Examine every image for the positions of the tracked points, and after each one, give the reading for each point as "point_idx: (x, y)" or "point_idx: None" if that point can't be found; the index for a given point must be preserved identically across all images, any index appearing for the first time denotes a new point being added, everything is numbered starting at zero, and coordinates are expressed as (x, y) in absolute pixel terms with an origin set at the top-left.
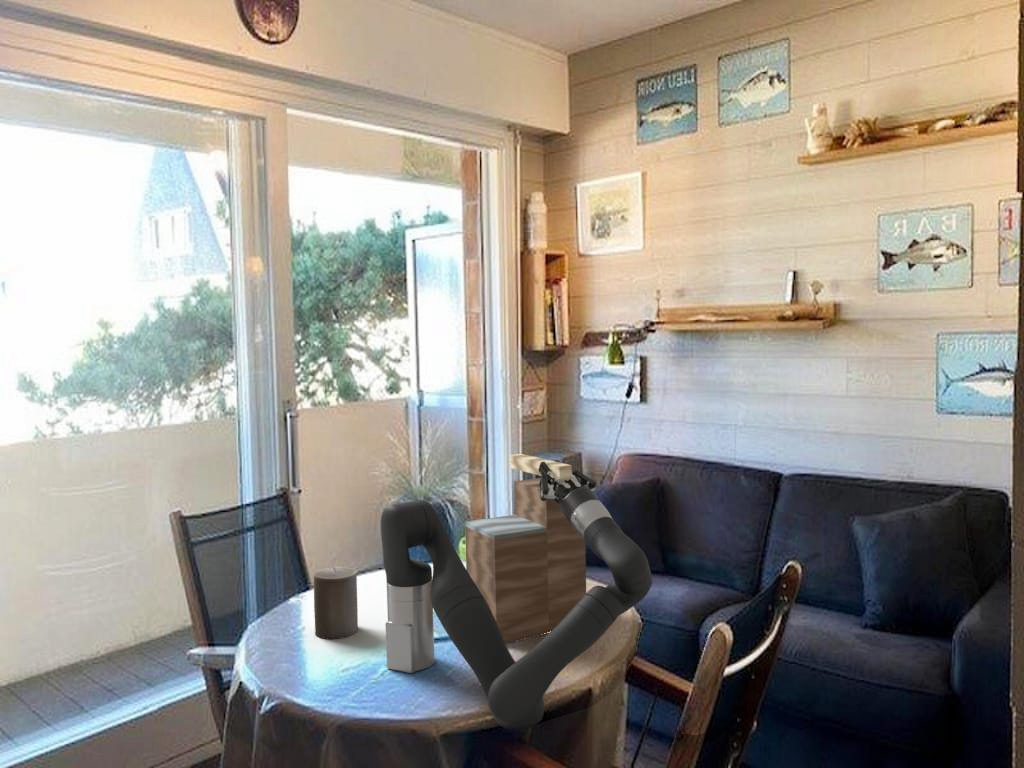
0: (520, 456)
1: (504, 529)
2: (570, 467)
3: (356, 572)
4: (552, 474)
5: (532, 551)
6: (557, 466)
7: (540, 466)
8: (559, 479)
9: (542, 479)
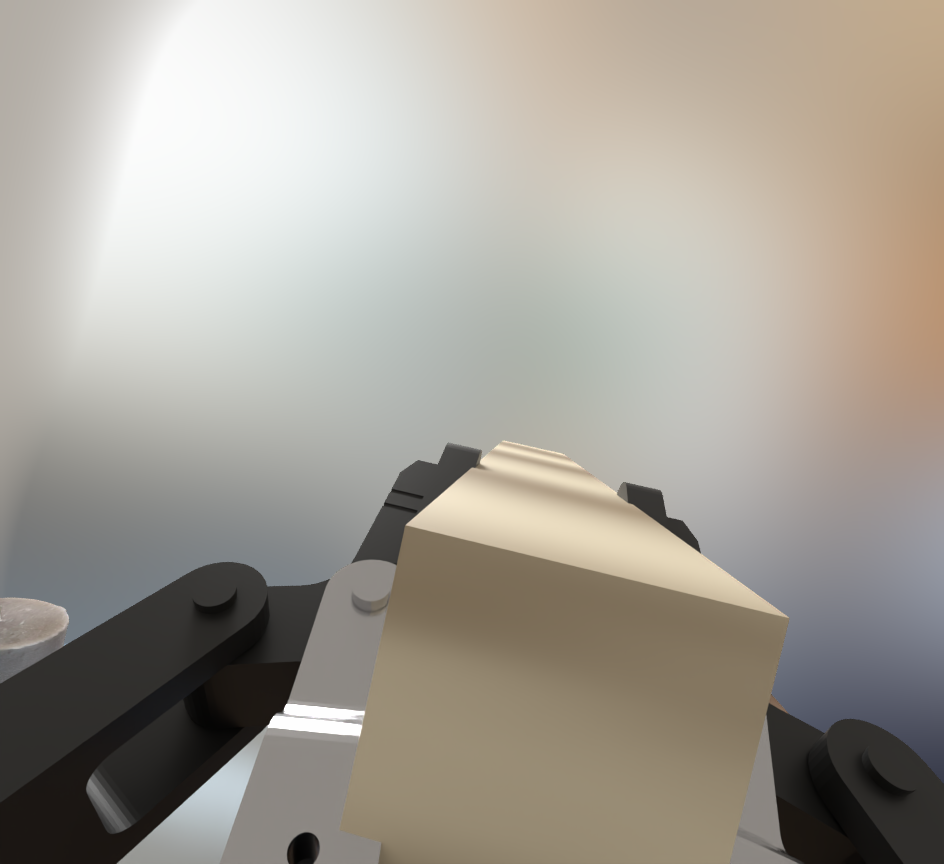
0: (517, 447)
1: (197, 829)
2: (737, 668)
3: (22, 647)
4: (380, 631)
5: None
6: (421, 514)
7: (399, 478)
8: (323, 843)
9: (80, 647)
